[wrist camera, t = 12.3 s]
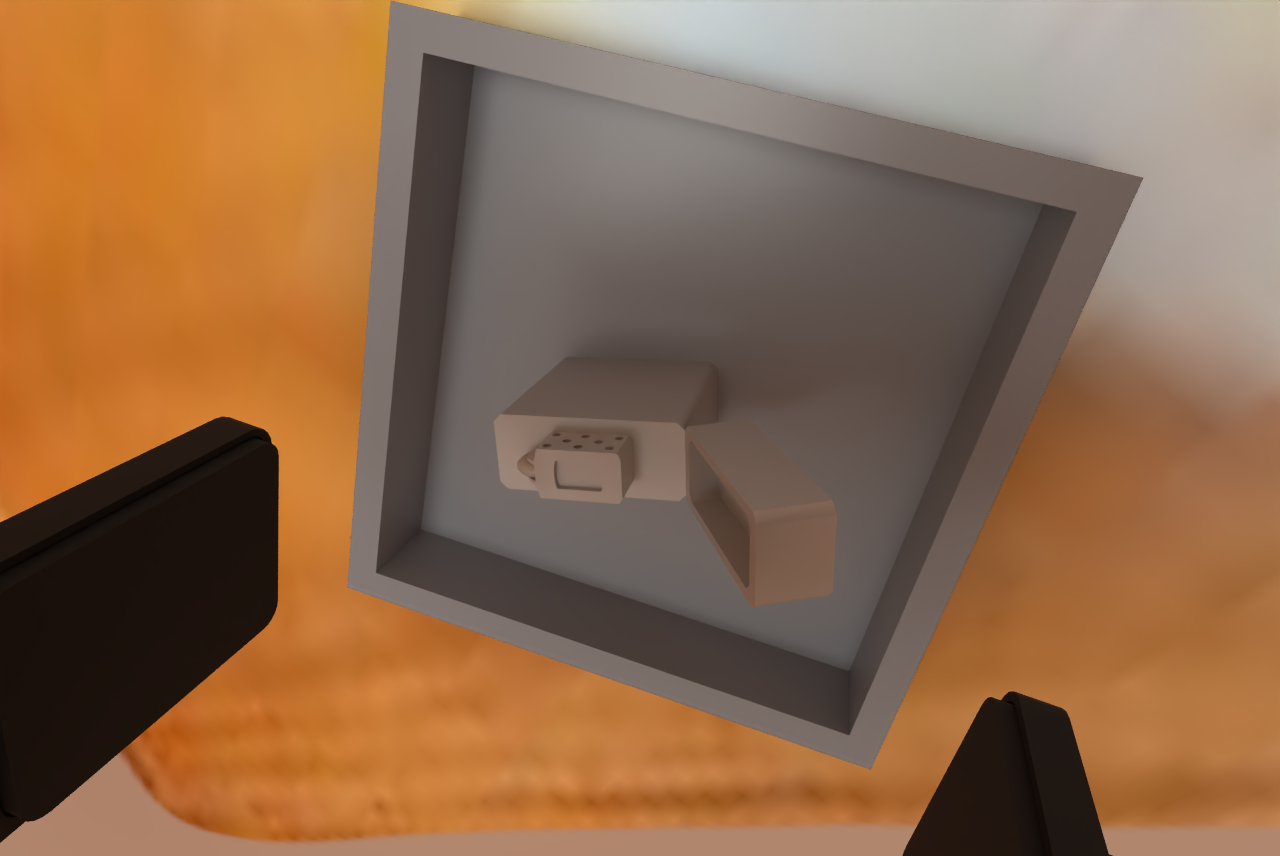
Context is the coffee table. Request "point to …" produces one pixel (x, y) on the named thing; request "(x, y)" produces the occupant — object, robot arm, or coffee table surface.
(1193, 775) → the coffee table surface
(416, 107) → the tray
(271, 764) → the coffee table surface
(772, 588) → the lighter
